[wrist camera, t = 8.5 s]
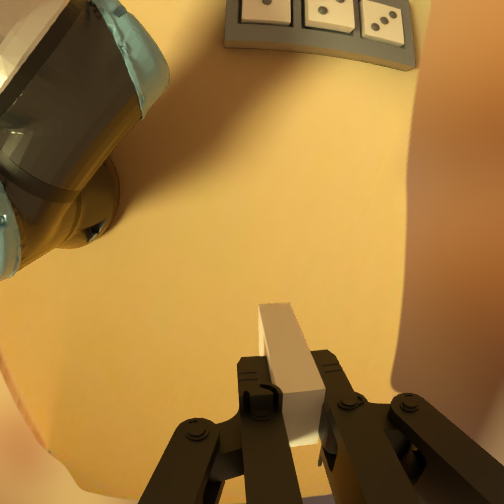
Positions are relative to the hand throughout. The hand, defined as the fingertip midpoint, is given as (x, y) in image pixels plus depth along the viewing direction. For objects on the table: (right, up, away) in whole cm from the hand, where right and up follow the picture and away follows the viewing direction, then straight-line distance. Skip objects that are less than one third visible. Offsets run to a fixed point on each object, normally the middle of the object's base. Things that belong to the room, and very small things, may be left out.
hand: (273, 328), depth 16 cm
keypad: (+8, +36, +20) cm, 42 cm away
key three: (+17, +35, +19) cm, 43 cm away
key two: (+9, +35, +17) cm, 40 cm away
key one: (+1, +36, +18) cm, 40 cm away
